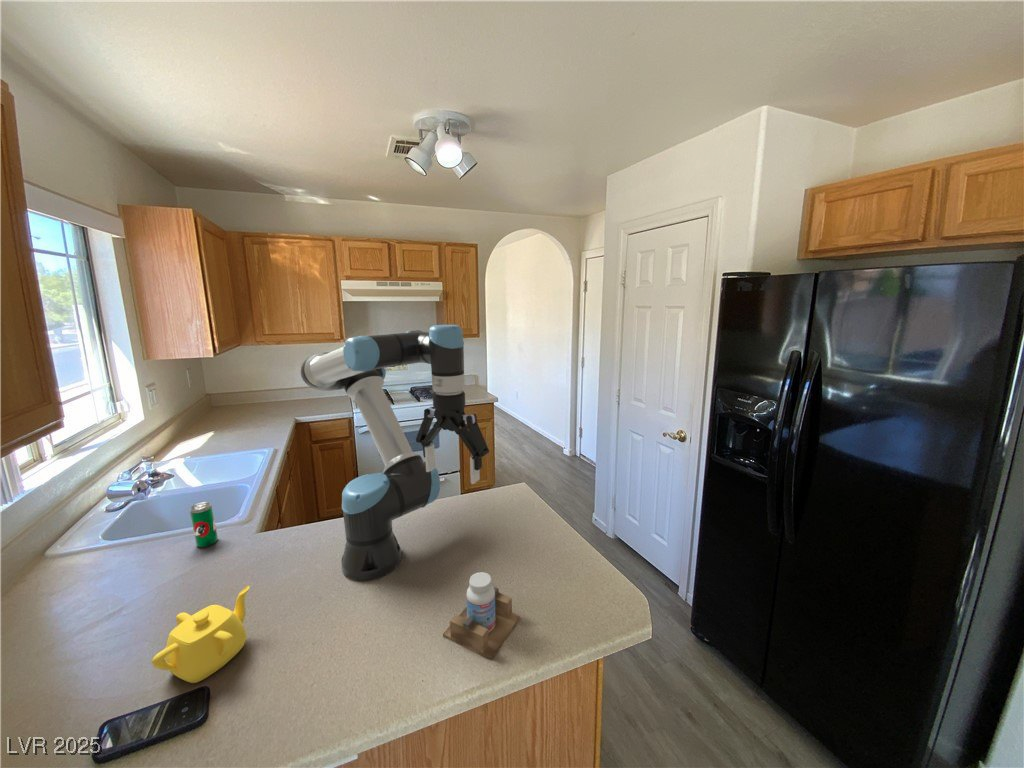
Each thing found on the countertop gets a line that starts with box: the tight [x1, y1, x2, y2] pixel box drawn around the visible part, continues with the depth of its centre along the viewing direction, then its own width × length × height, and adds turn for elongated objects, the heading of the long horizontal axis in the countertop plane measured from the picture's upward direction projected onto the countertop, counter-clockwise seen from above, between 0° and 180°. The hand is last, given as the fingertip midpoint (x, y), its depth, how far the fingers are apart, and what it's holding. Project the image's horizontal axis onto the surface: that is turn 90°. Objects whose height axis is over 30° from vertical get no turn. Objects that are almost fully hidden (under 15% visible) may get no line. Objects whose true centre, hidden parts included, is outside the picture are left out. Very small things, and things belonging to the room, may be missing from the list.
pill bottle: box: [465, 571, 495, 633], centre depth 86 cm, size 6×6×11 cm
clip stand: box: [442, 586, 521, 661], centre depth 87 cm, size 12×12×6 cm
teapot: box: [151, 585, 251, 684], centre depth 79 cm, size 14×13×10 cm
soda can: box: [189, 501, 219, 548], centre depth 116 cm, size 5×5×12 cm
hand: (452, 475), depth 99 cm, fingers open, 13 cm apart
